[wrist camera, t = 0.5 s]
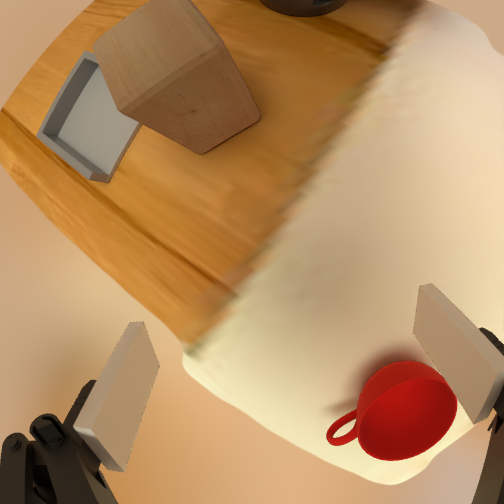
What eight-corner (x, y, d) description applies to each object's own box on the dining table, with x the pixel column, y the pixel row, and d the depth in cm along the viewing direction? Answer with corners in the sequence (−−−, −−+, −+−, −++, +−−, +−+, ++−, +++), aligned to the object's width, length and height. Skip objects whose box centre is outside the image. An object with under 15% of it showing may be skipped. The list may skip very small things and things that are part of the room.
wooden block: (200, 158, 40) (114, 116, 21) (170, 104, 40) (86, 43, 21) (264, 120, 38) (224, 41, 19) (229, 67, 38) (175, -20, 19)
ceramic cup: (311, 374, 40) (310, 414, 31) (424, 329, 37) (452, 358, 27) (337, 438, 41) (340, 481, 31) (438, 399, 37) (460, 435, 27)
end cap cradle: (101, 61, 42) (84, 50, 37) (164, 89, 40) (149, 77, 35) (54, 141, 45) (36, 136, 40) (108, 182, 43) (88, 179, 38)
